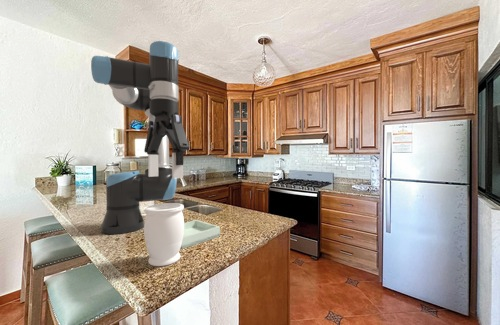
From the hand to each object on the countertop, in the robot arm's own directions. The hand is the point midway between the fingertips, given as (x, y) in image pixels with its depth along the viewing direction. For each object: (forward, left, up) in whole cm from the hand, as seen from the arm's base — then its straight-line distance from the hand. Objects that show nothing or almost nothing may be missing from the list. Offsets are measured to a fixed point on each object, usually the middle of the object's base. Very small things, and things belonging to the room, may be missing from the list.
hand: (164, 177), depth 60 cm
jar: (0, 0, -23) cm, 23 cm away
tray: (-10, +15, -23) cm, 29 cm away
